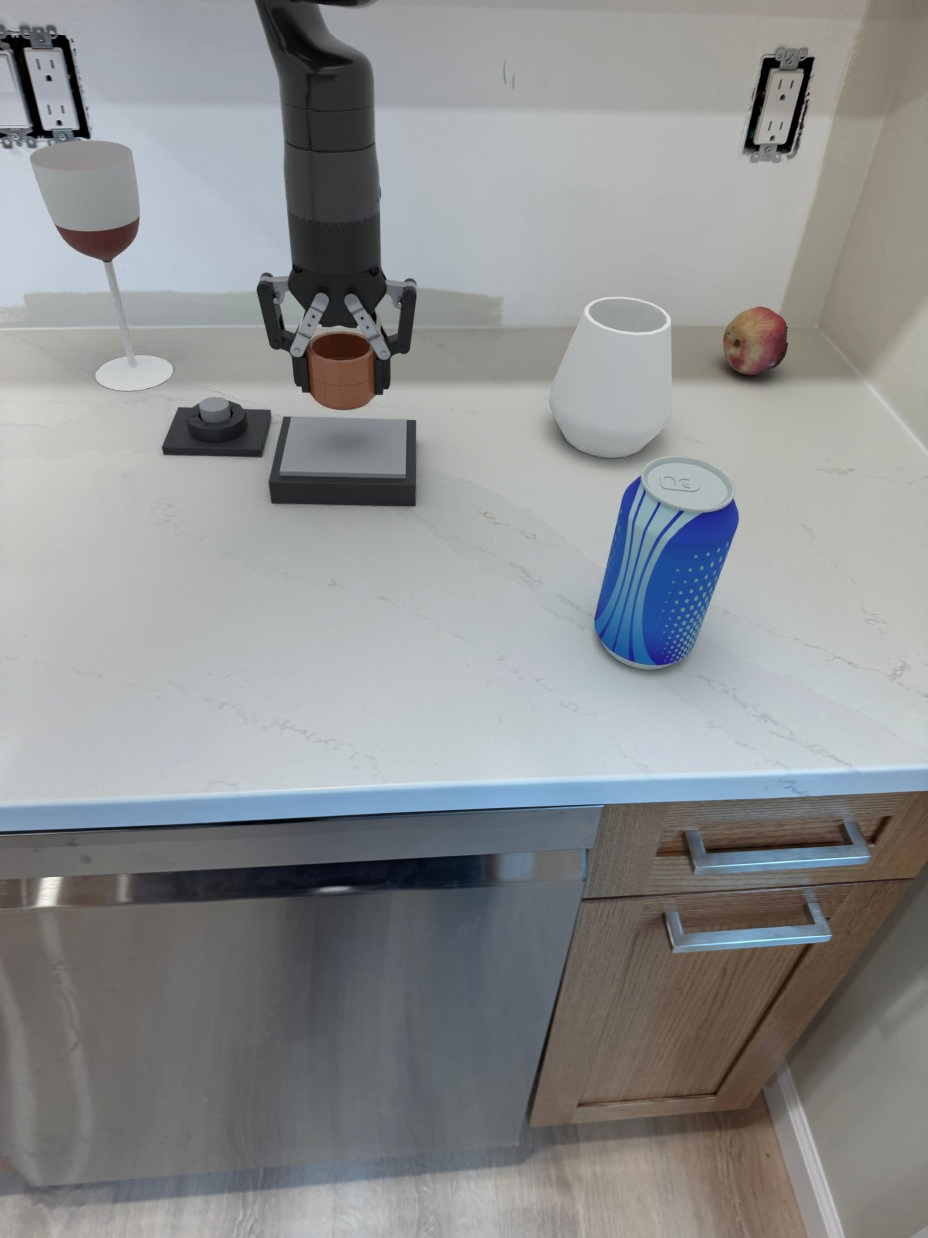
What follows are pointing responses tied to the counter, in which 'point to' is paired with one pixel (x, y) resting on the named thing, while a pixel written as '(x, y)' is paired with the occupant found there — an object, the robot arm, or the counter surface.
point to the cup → (615, 378)
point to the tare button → (214, 410)
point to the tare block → (218, 433)
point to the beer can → (665, 561)
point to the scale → (345, 461)
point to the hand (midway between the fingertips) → (343, 389)
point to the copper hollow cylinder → (341, 370)
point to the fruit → (755, 341)
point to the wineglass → (99, 231)
